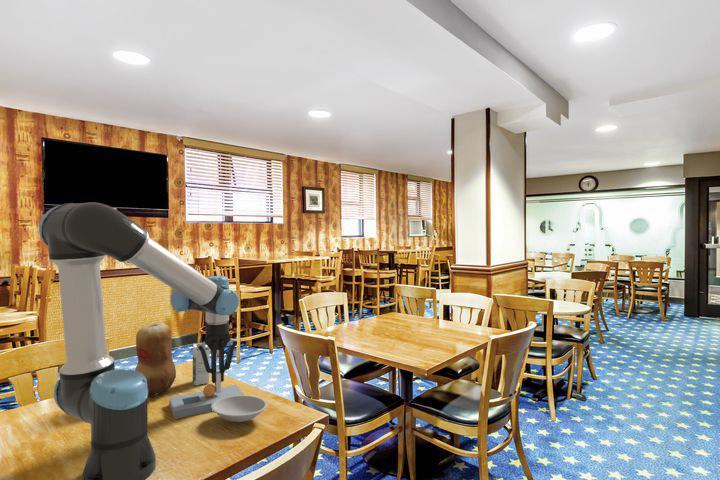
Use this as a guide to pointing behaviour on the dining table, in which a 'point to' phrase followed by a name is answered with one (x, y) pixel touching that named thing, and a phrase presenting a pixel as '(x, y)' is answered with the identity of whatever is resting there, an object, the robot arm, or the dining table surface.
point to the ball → (209, 390)
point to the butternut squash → (155, 357)
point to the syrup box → (199, 366)
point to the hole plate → (198, 401)
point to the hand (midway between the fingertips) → (217, 391)
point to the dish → (239, 407)
